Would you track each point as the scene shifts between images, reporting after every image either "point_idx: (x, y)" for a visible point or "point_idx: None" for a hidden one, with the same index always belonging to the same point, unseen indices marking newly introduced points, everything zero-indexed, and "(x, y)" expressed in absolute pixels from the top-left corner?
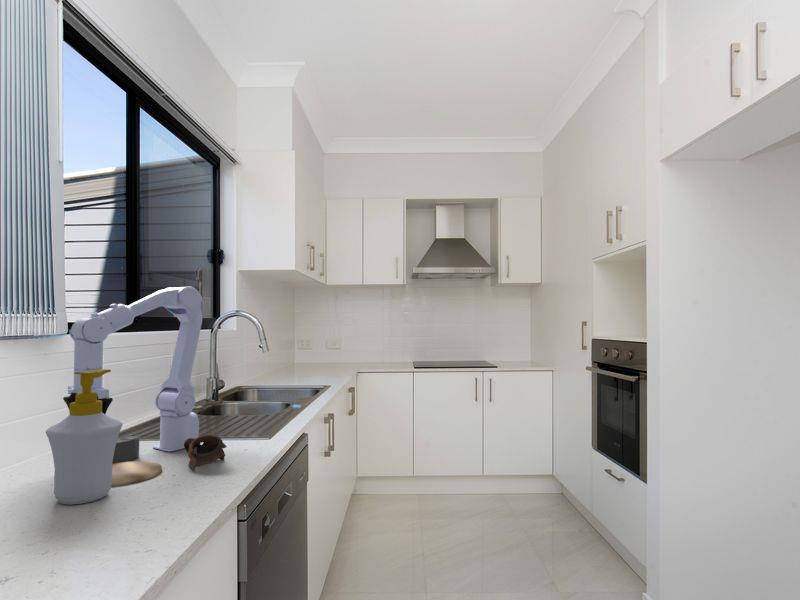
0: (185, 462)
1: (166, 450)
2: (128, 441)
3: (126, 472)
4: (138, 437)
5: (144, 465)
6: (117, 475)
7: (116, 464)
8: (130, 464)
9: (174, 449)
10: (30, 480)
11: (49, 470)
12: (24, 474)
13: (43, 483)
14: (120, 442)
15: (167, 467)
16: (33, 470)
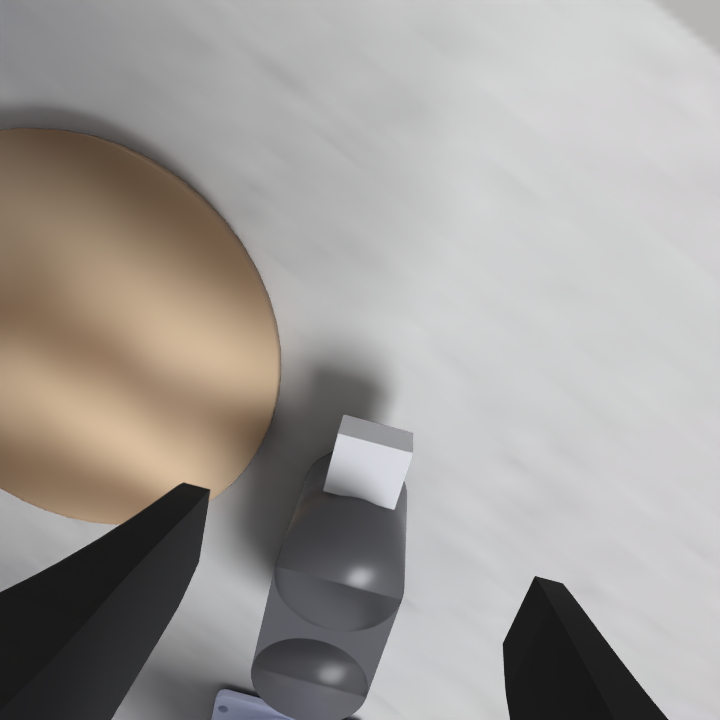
0: (10, 576)
1: (245, 696)
2: (261, 633)
3: (30, 342)
4: (273, 703)
5: (68, 464)
6: (19, 285)
7: (224, 445)
8: (152, 462)
9: (213, 709)
10: (510, 93)
11: (581, 300)
12: (678, 183)
13: (361, 74)
14: (268, 597)
15: (7, 499)
16: (694, 270)
